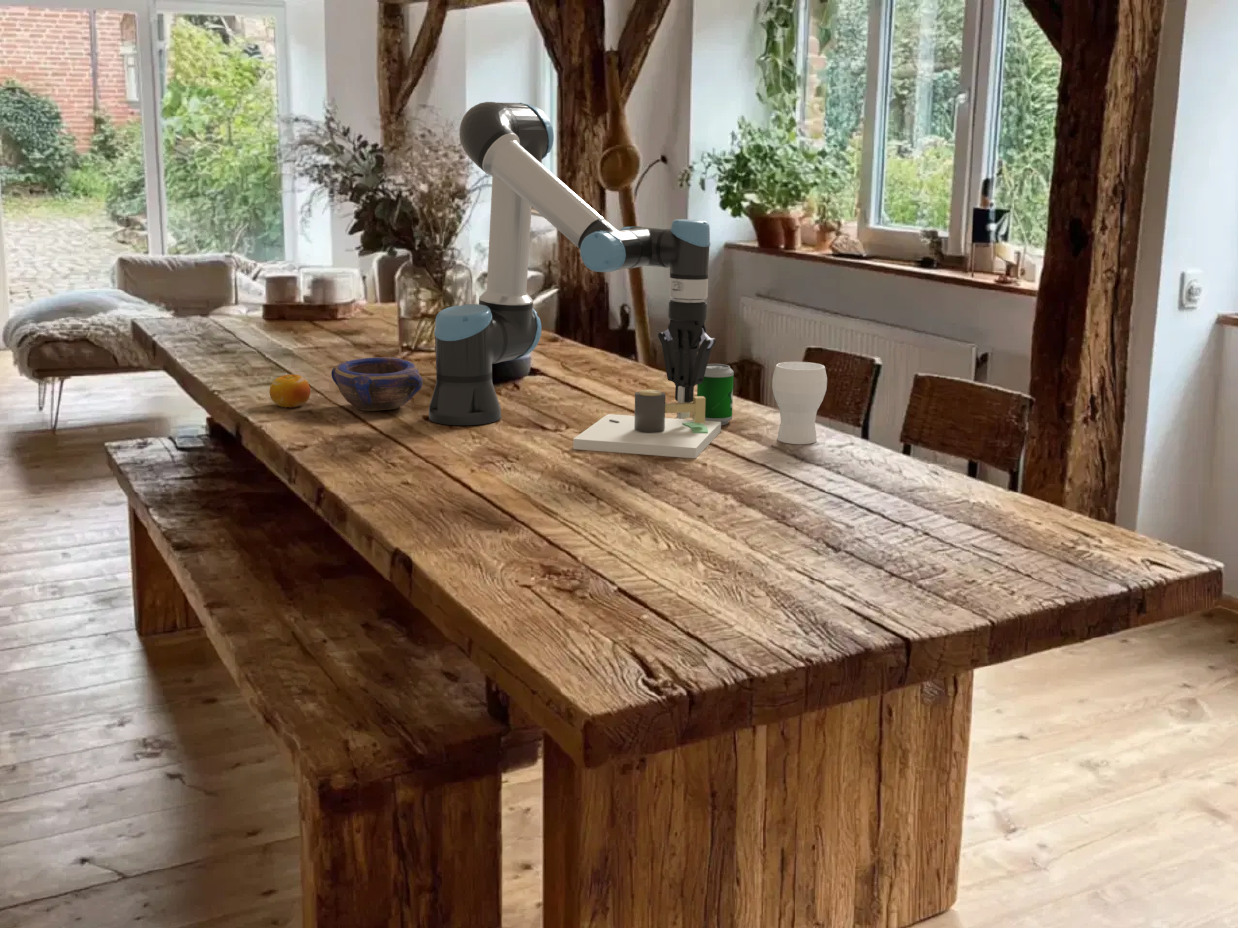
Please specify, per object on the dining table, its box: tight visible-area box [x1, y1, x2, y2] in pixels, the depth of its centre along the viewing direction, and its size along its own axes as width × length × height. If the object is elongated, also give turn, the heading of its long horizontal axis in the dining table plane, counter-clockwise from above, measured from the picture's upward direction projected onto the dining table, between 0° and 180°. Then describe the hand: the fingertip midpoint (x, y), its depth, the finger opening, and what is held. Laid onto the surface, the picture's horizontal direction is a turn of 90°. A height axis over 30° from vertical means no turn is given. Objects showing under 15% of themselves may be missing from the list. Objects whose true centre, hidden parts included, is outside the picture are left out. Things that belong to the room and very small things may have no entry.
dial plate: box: [572, 413, 722, 459], centre depth 253 cm, size 24×24×2 cm
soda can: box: [696, 363, 735, 426], centre depth 269 cm, size 8×8×12 cm
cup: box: [771, 361, 828, 445], centre depth 253 cm, size 11×11×15 cm
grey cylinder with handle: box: [634, 389, 706, 432], centre depth 253 cm, size 14×6×7 cm, turn 101°
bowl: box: [330, 356, 424, 412], centre depth 279 cm, size 18×18×10 cm
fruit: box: [269, 374, 311, 408], centre depth 281 cm, size 8×8×8 cm
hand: (683, 417), depth 257 cm, fingers closed
